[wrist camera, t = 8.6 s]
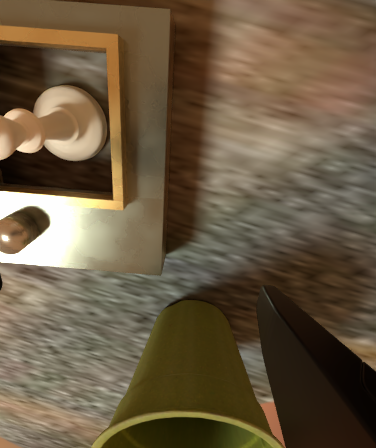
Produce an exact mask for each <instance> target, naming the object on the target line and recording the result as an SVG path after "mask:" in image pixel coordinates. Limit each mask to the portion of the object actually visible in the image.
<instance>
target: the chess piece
mask: <svg viewBox="0 0 376 448" xmlns="http://www.w3.org/2000/svg"><path fill="white" fill-rule="evenodd" d="M106 137H107V122H106V118H105V115H104V112H103V110H102V108H101V107H100V105H99V104H98V102H97V101H96V100H95V99H94V98H93V97H92V96H91V95H90V94H89V93H87V92H86V91H84V90H82V89H80V88H78V87H75V86H70V85H61V86H55V87H52V88H49V89H47V90H46V91H44V92H43V93H42V94H41V95H40V96H39V98H38V99H37V101H36V103H35V106H34V110H33V113H32V112H30V111H28V110H25V109H20V108H17V109H13V110H11V111H9V112H7V113H6V114H5V115H4V117H3V116H1V115H0V160H2V159H5V158H7V157H9V156H10V155H11V154H12V153H13V152H14V151H15V150H18V151H21V152H25V153H34V152H37V151H38V150H40V149H41V148H42V147H43V145H44V146H45V147H46V148H47V149H48V150H49V151H50V152H51V153H53V154H54V155H56V156H58V157H60V158H62V159H65V160H69V161H81V160H87V159H89V158H92V157H93V156H95V155H96V154H97V153H98V152H99V151H100V150H101V149H102V147H103V146H104V144H105V141H106Z"/></svg>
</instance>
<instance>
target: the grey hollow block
mask: <svg viewBox="0 0 376 448" xmlns="http://www.w3.org/2000/svg"><path fill="white" fill-rule="evenodd" d="M175 28H176V26H175V22H174V19H173V16H172V13H171V9H163V8H150V7H136V6H123V5H109V4H96V3H82V2H69V1H55V0H0V45H5V46H18V47H31V48H45V49H58V50H71V51H84V52H97V53H106V54H107V75H108V96H109V117H110V138H111V159H112V180H113V192H103V191H90V190H78V189H66V188H54V187H42V186H29V185H17V184H5V183H3V178H2V174H1V169H0V262H8V263H20V264H31V265H43V266H55V267H67V268H78V269H90V270H102V271H113V272H125V273H137V274H149V275H160V276H161V274H162V269H163V265H164V261H165V257H166V240H167V217H168V193H169V170H170V146H171V123H172V99H173V76H174V52H175Z"/></svg>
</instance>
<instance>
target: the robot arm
mask: <svg viewBox="0 0 376 448" xmlns="http://www.w3.org/2000/svg"><path fill="white" fill-rule="evenodd" d="M1 288H2V279H1V275H0V290H1ZM256 309H257V318H258V326H259V333H260V340H261V348H262V354H263V359H264V363H265V367H266V371H267V375H268V379H269V383H270V387H271V391H272V395H273V399H274V403H275V406H276V410H277V415H278V418H279V422H280V426H281V430H282V434H283V438H284V442H285V446H286V448H376V371H375V370H374V369H372V368H371V367H370V366H369V365H368V364H366V363H365V362H362V360H361V359H360V358H359V357H358V356H357V355H356V354H354V353H353V352H352V351H351V350H350V349H348V348H347V347H346V346H345V345H344V344H342V343H341V342H340V341H339V340H338V339H337V338H335V337H334V336H333V335H332V334H331V333H329V332H328V331H327V330H326V329H325V328H323V327H322V326H321V325H320V324H319V323H318V322H316V321H315V320H314V319H313V318H312V317H310V316H309V315H308V314H307V313H306V312H304V311H303V310H302V309H301V308H300V307H298V306H297V305H296V304H295V303H294V302H293V301H291V300H290V299H289V298H288V297H287V296H285V295H284V294H283V293H282V292H281V291H279V290H278V289H277V288H276V287H274V286H267V285H263V286H261V288H260V292H259V297H258V301H257V308H256Z"/></svg>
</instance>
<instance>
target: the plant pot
mask: <svg viewBox="0 0 376 448" xmlns="http://www.w3.org/2000/svg"><path fill="white" fill-rule="evenodd" d="M91 448H284V446H283V445H282V443H281V442H280V441H279V440H278V439H277V438H276V437H275V436H274V435H273V434H272V432H271V429H270V427H269V424H268V421H267V419H266V416H265V413H264V411H263V409H262V407H261V406H260V404H259V403H258V401H257V400H256V397H255V394H254V392H253V389H252V386H251V383H250V380H249V377H248V375H247V372H246V369H245V366H244V364H243V361H242V358H241V355H240V353H239V350H238V347H237V344H236V342H235V339H234V336H233V333H232V330H231V327H230V324H229V322H228V320H227V318H226V317H225V316H224V314H223V313H222V312H221V310H219V309H218V308H217V307H215V306H213V305H211V304H209V303H207V302H203V301H198V300H184V301H180V302H178V303H176V304H175V305H172V306H170V307H166V308H165V309H164V310H163V311H162V312H161V313H160V315H159V316H158V317H157V319H156V322H155V324H154V327H153V329H152V332H151V334H150V337H149V339H148V342H147V344H146V346H145V349H144V351H143V354H142V356H141V359H140V361H139V363H138V366H137V368H136V371H135V373H134V376H133V378H132V380H131V383H130V385H129V388H128V390H127V393H126V395H125V396H124V397H123V399H122V400H121V402H120V403H119V405H118V407H117V409H116V412H115V414H114V416H113V419H112V421H111V423H110V425H109V427H108V428H107V429H105V430H104V431H103V432H102V433H101V434H100V435H99V436H98V438H97V439H96V440H95V442H94V443H93V445H92V447H91Z"/></svg>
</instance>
